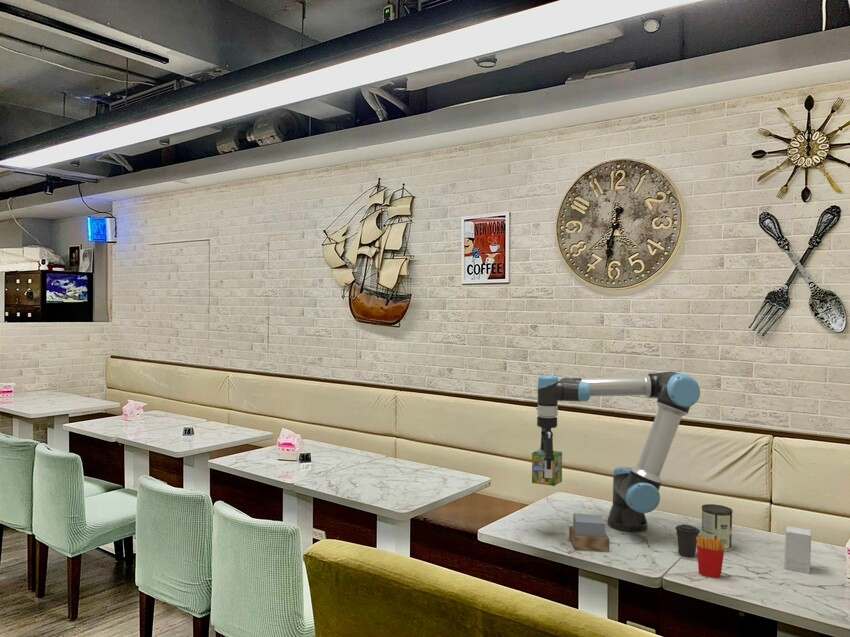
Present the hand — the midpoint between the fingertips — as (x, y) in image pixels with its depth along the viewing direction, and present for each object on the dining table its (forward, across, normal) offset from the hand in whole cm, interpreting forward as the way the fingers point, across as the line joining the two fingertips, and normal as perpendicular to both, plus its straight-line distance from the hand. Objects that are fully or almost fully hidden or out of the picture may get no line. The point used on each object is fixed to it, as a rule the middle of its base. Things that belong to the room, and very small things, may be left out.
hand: (546, 473), depth 237 cm
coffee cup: (+24, +14, +48) cm, 55 cm away
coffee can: (+24, +4, +61) cm, 66 cm away
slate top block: (+18, +9, +14) cm, 25 cm away
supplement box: (+24, +20, +82) cm, 88 cm away
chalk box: (+4, 0, 0) cm, 4 cm away
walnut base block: (+23, +9, +14) cm, 29 cm away
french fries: (+24, +31, +49) cm, 62 cm away
